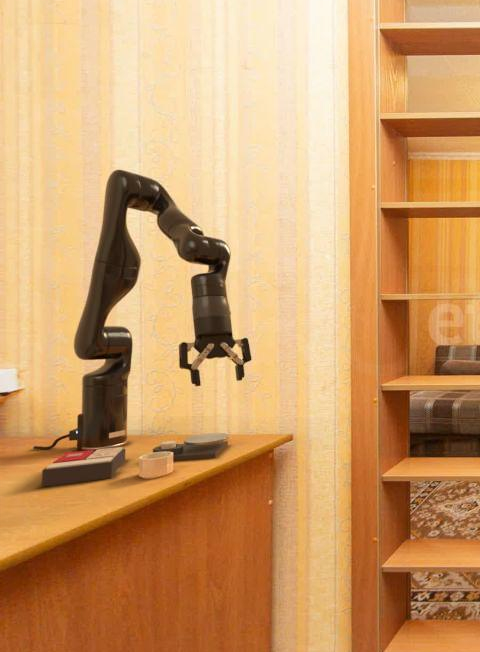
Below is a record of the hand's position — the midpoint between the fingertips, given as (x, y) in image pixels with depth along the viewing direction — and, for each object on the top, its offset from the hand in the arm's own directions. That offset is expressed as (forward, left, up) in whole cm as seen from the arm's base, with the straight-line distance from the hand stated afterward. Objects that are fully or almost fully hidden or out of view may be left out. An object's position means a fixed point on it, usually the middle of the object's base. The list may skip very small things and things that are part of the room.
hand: (219, 383), depth 105 cm
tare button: (-14, +12, -18) cm, 25 cm away
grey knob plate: (-10, +15, -20) cm, 27 cm away
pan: (-7, +17, -17) cm, 25 cm away
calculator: (-27, +5, -21) cm, 34 cm away
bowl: (-12, -1, -21) cm, 24 cm away
